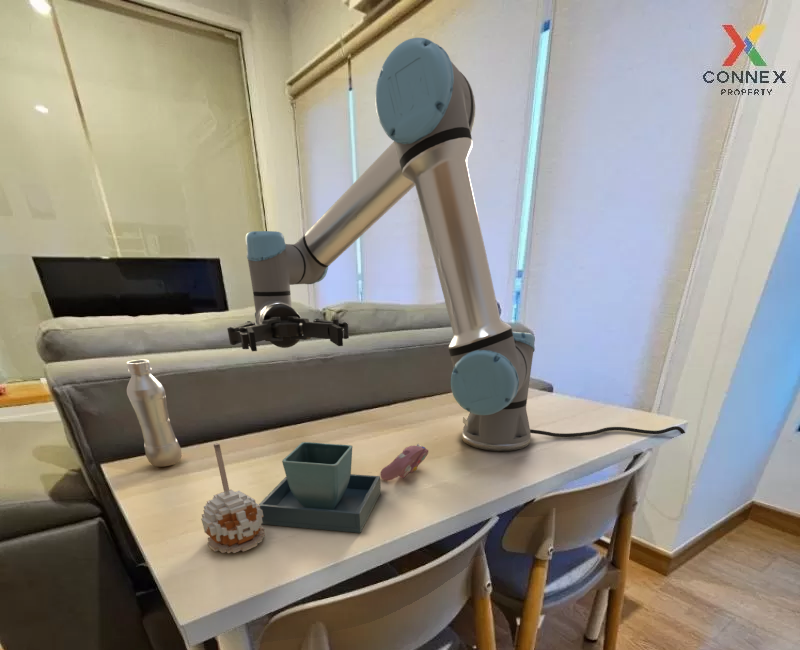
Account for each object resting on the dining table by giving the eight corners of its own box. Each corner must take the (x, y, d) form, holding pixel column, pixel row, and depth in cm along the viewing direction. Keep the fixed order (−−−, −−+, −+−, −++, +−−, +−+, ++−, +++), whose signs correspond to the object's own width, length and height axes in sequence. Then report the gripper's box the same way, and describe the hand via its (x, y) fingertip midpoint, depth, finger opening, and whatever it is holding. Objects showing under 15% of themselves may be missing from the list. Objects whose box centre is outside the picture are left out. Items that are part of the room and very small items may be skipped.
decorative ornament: (225, 562, 63) (200, 459, 56) (200, 541, 68) (174, 444, 60) (274, 541, 68) (258, 444, 60) (248, 523, 73) (230, 430, 65)
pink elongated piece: (395, 491, 86) (409, 463, 81) (376, 477, 87) (390, 448, 82) (421, 473, 93) (436, 447, 88) (404, 460, 94) (417, 433, 89)
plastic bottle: (191, 460, 96) (165, 359, 86) (167, 472, 91) (137, 366, 80) (166, 456, 98) (138, 357, 88) (141, 468, 92) (108, 364, 82)
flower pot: (340, 518, 72) (336, 464, 68) (288, 513, 74) (280, 460, 69) (356, 494, 80) (353, 444, 75) (308, 490, 81) (302, 441, 77)
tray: (380, 493, 82) (380, 476, 80) (360, 533, 70) (359, 513, 68) (294, 486, 84) (292, 469, 83) (260, 524, 72) (257, 505, 71)
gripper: (344, 341, 95) (374, 359, 78) (217, 349, 88) (219, 370, 71) (342, 301, 91) (373, 310, 74) (208, 305, 84) (208, 316, 67)
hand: (297, 339), depth 72 cm, fingers open, 13 cm apart
